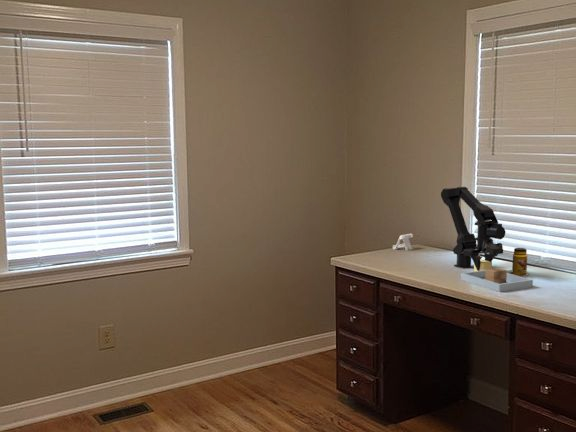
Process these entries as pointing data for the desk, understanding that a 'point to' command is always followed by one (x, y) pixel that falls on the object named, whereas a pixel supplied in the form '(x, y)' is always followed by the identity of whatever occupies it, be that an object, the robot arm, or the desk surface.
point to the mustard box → (484, 265)
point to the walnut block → (496, 275)
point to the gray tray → (514, 283)
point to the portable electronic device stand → (406, 242)
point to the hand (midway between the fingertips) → (482, 269)
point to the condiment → (519, 262)
